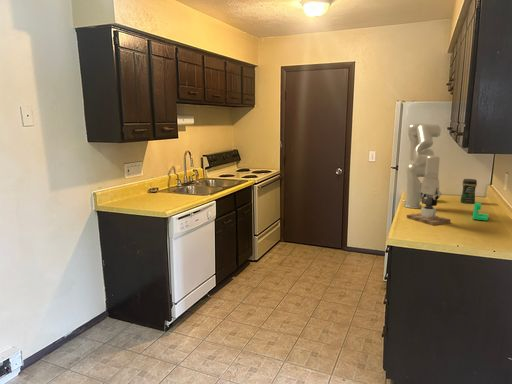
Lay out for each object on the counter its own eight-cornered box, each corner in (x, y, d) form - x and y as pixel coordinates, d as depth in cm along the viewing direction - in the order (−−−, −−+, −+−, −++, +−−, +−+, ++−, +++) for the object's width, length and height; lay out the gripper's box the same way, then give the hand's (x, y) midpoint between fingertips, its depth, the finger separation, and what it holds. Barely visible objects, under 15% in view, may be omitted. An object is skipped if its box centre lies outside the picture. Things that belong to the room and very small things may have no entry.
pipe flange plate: (406, 217, 236) (407, 205, 235) (423, 215, 242) (424, 203, 240) (432, 225, 218) (433, 212, 217) (450, 222, 224) (451, 210, 222)
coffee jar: (461, 203, 281) (463, 179, 278) (459, 201, 288) (462, 177, 285) (475, 204, 277) (478, 179, 274) (474, 202, 284) (476, 178, 281)
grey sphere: (420, 207, 230) (421, 196, 229) (428, 206, 233) (429, 196, 232) (429, 210, 224) (430, 198, 223) (437, 209, 227) (438, 198, 225)
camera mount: (486, 222, 226) (488, 205, 224) (472, 220, 230) (473, 204, 229) (488, 218, 235) (490, 202, 234) (474, 216, 240) (476, 201, 238)
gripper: (415, 174, 231) (413, 202, 234) (438, 178, 216) (436, 207, 219) (424, 174, 234) (422, 201, 237) (448, 177, 219) (445, 206, 222)
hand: (429, 204), depth 228 cm, fingers closed on grey sphere, 7 cm apart
